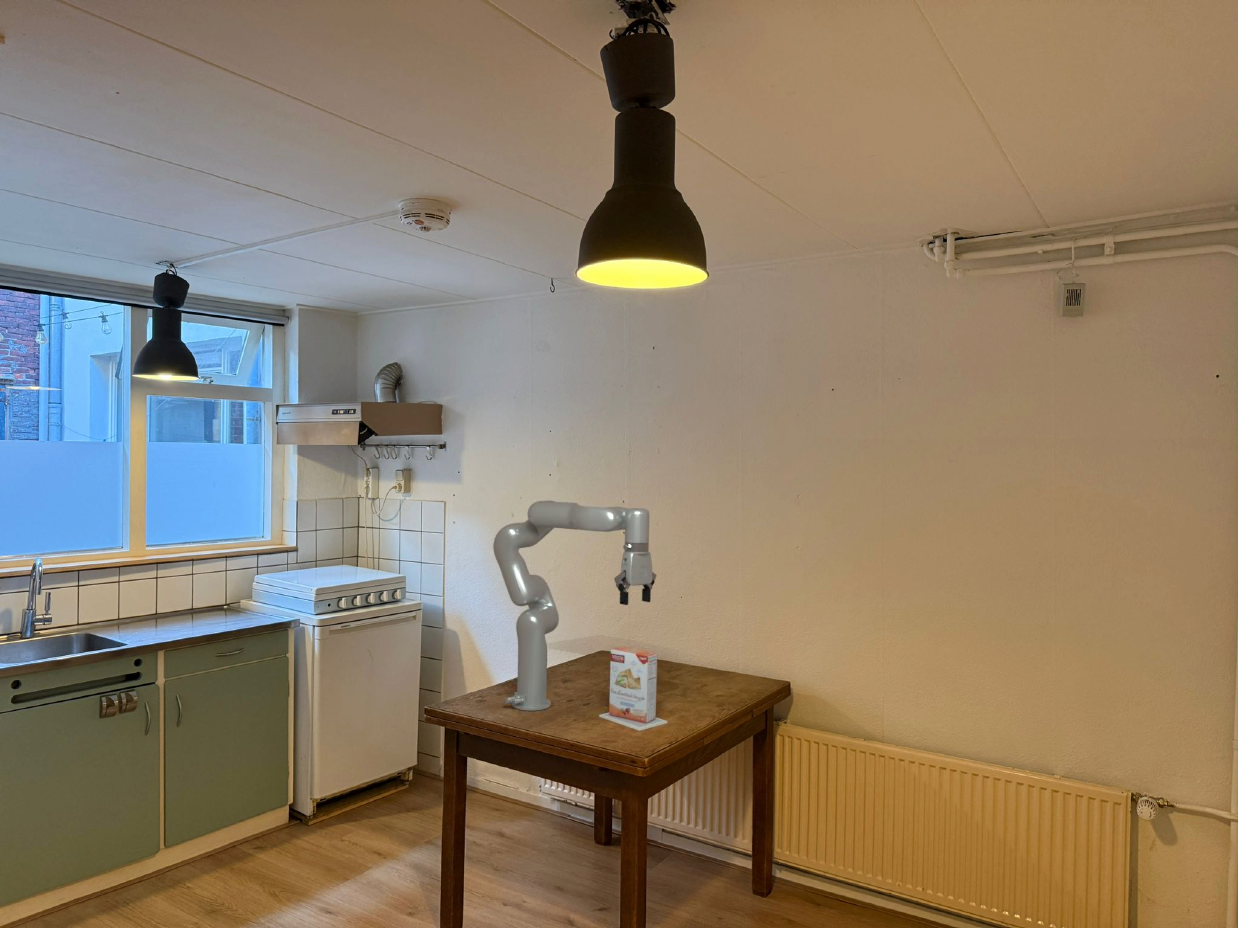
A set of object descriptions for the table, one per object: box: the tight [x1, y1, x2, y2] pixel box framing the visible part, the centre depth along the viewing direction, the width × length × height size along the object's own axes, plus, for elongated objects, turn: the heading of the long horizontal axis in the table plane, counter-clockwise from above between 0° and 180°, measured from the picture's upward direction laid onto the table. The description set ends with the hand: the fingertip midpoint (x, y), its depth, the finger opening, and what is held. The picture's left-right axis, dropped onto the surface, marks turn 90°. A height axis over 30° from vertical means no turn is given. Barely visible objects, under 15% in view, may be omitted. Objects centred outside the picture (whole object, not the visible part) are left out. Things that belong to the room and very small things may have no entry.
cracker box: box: [608, 646, 658, 723], centre depth 256 cm, size 14×6×21 cm, turn 56°
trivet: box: [599, 712, 668, 732], centre depth 256 cm, size 12×18×1 cm, turn 44°
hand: (635, 602), depth 257 cm, fingers open, 9 cm apart
